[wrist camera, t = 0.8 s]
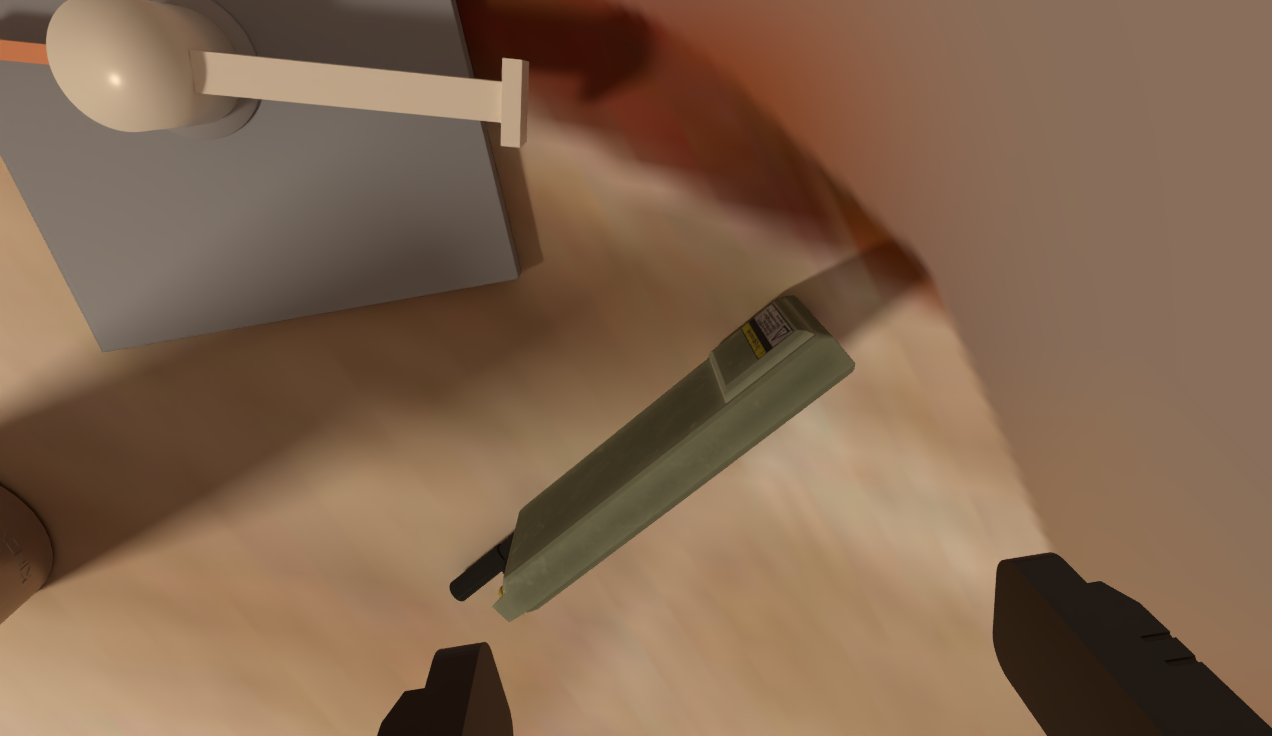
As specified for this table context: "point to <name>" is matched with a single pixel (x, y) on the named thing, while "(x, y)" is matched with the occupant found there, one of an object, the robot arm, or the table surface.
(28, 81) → the gauge board
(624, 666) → the table surface
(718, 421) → the handheld radio
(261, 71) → the lever with orange pointer
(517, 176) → the table surface
